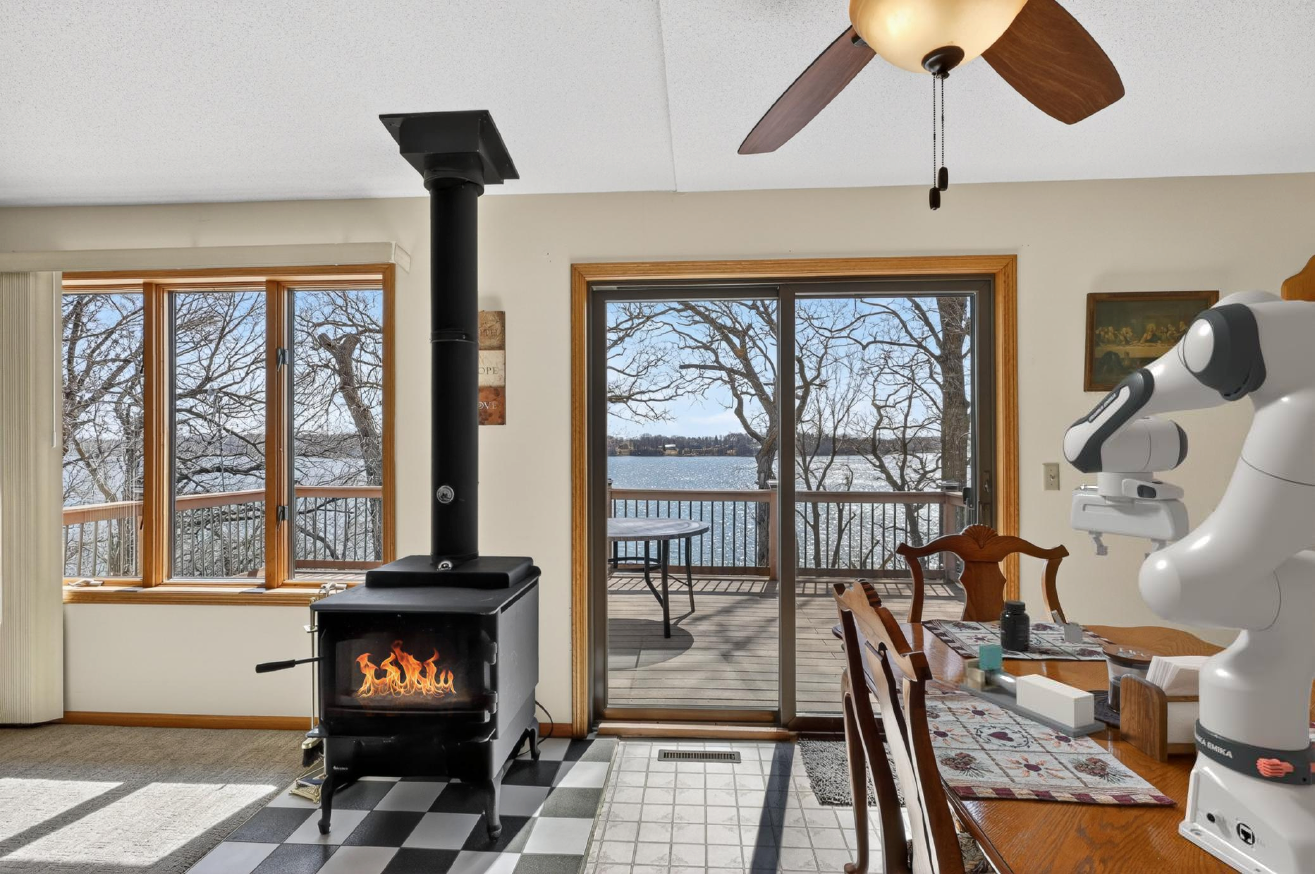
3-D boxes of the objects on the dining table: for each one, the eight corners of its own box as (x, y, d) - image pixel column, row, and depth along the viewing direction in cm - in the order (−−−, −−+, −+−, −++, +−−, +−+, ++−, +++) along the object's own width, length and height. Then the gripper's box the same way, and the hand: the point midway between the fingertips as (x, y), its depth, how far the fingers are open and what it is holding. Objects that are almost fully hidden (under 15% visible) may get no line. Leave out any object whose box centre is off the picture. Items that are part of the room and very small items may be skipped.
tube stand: (1106, 729, 123) (1105, 694, 123) (1072, 737, 119) (1072, 701, 119) (988, 682, 147) (988, 654, 147) (958, 688, 143) (957, 659, 143)
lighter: (1081, 641, 177) (1081, 612, 177) (1082, 643, 176) (1082, 613, 176) (1051, 638, 181) (1050, 609, 181) (1051, 640, 179) (1051, 610, 179)
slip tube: (1052, 703, 130) (1052, 663, 130) (1037, 706, 128) (1036, 665, 128) (988, 678, 144) (988, 642, 144) (973, 681, 142) (973, 644, 142)
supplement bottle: (994, 646, 174) (994, 600, 174) (1012, 642, 177) (1011, 598, 177) (1018, 653, 168) (1017, 606, 168) (1036, 649, 170) (1035, 603, 171)
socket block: (1004, 686, 142) (1004, 662, 142) (980, 691, 139) (980, 666, 139) (987, 679, 146) (986, 656, 146) (963, 684, 143) (963, 660, 143)
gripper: (1062, 484, 135) (1063, 551, 135) (1171, 490, 116) (1172, 569, 116) (1083, 483, 138) (1084, 549, 137) (1194, 489, 119) (1195, 566, 119)
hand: (1125, 558), depth 127 cm, fingers open, 8 cm apart
